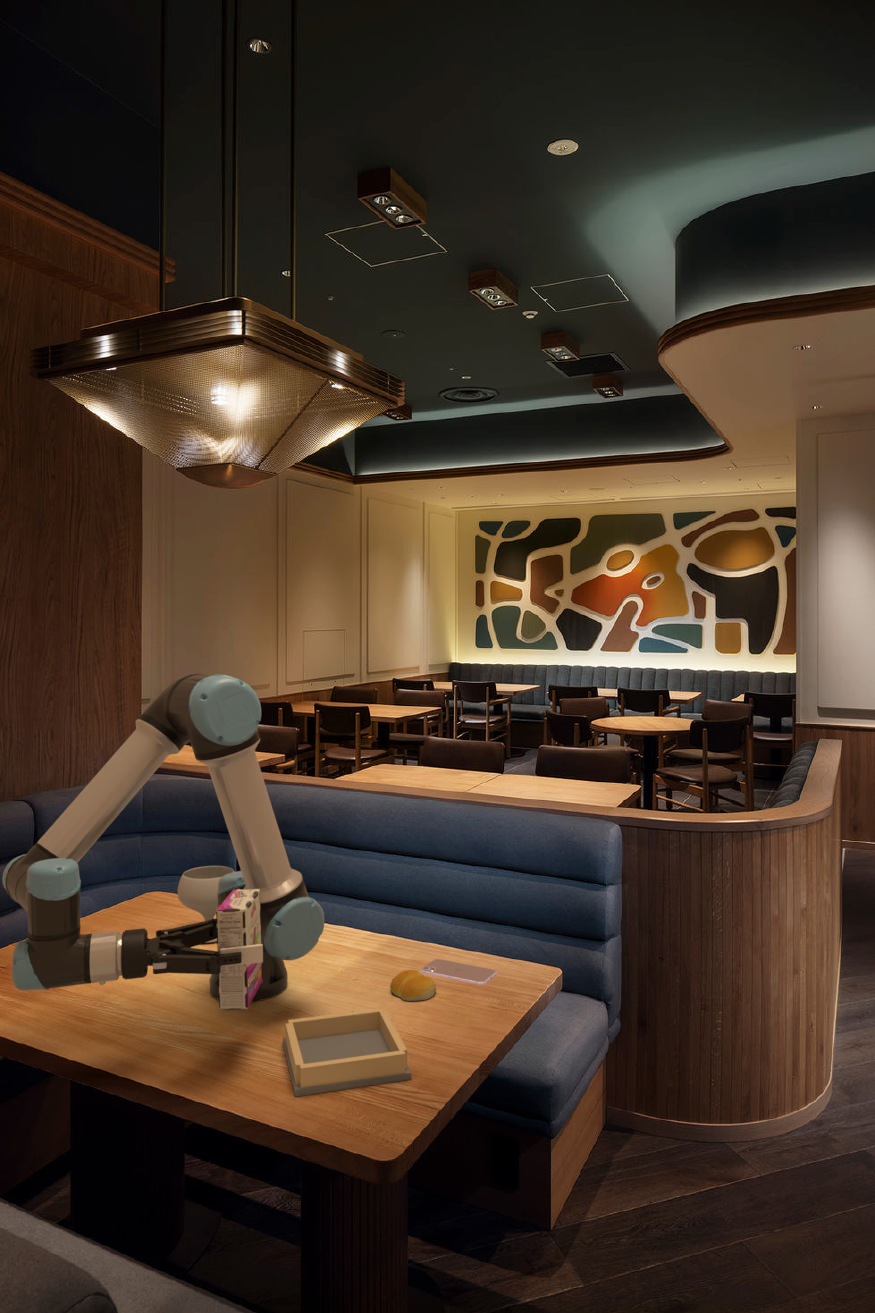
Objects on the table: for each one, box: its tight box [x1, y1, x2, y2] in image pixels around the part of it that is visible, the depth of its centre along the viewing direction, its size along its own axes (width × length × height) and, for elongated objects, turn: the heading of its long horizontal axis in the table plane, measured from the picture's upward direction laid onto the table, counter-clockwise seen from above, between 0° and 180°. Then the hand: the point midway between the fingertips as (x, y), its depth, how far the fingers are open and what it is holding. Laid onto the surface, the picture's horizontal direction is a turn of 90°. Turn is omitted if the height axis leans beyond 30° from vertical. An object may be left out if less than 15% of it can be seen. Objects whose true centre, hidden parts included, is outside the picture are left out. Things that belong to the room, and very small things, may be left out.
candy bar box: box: [215, 889, 263, 1011], centre depth 141 cm, size 11×5×16 cm, turn 179°
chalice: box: [177, 865, 236, 944], centre depth 199 cm, size 14×14×15 cm
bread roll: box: [389, 969, 437, 1002], centre depth 166 cm, size 8×9×4 cm
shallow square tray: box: [282, 1008, 412, 1097], centre depth 139 cm, size 18×18×4 cm
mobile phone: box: [419, 958, 498, 985], centre depth 176 cm, size 8×1×15 cm
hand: (259, 940), depth 142 cm, fingers closed on candy bar box, 12 cm apart
